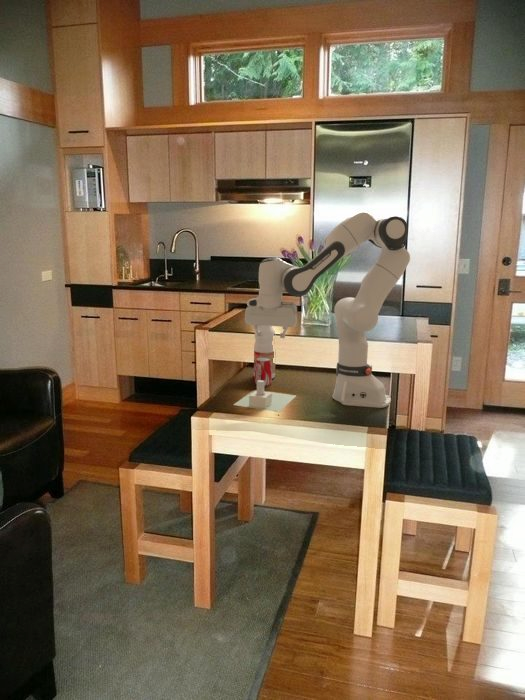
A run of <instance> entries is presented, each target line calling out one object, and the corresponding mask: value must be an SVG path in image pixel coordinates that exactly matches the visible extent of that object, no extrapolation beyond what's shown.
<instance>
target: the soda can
mask: <svg viewBox="0 0 525 700" xmlns="http://www.w3.org/2000/svg"><path fill="white" fill-rule="evenodd" d="M270 360H271V359H270V358H267V357H260V358H257V361H256V362H255V377H254V384H255V385H256V386H257V381H258V380H263V381H265V386H264V387H267V386H270V385H272V381H273V378H272V362H271V361H270Z"/></svg>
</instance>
